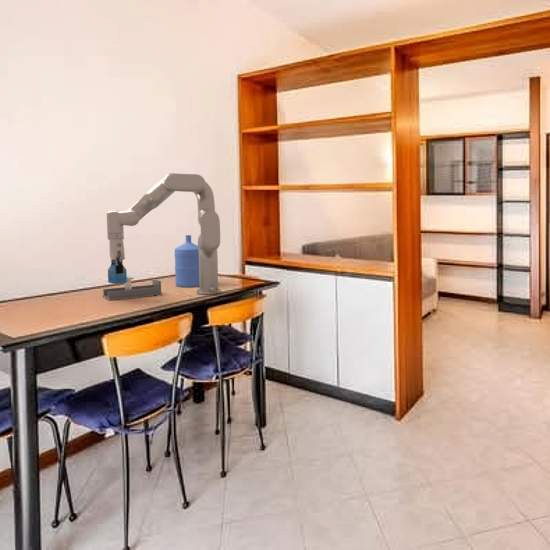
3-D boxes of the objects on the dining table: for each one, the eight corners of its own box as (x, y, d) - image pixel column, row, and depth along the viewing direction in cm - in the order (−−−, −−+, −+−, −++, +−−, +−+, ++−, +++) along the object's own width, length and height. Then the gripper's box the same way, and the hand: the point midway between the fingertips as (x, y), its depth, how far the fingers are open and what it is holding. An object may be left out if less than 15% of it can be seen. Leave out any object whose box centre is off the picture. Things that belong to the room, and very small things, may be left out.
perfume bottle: (116, 283, 250) (115, 259, 248) (108, 282, 253) (107, 258, 252) (126, 282, 254) (125, 258, 253) (119, 281, 258) (118, 257, 257)
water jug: (201, 287, 283) (200, 236, 280) (172, 287, 284) (171, 236, 280) (205, 283, 299) (204, 234, 295) (178, 283, 299) (177, 234, 295)
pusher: (134, 294, 255) (133, 277, 254) (129, 295, 254) (128, 278, 253) (130, 292, 261) (129, 275, 260) (125, 292, 260) (124, 276, 259)
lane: (161, 295, 260) (161, 281, 259) (109, 300, 247) (108, 286, 246) (154, 291, 270) (153, 278, 269) (102, 296, 257) (102, 282, 256)
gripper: (128, 237, 245) (130, 274, 248) (118, 235, 260) (120, 270, 262) (112, 237, 241) (114, 275, 244) (103, 235, 256) (104, 271, 259)
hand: (117, 272), depth 253 cm, fingers closed on perfume bottle, 7 cm apart
